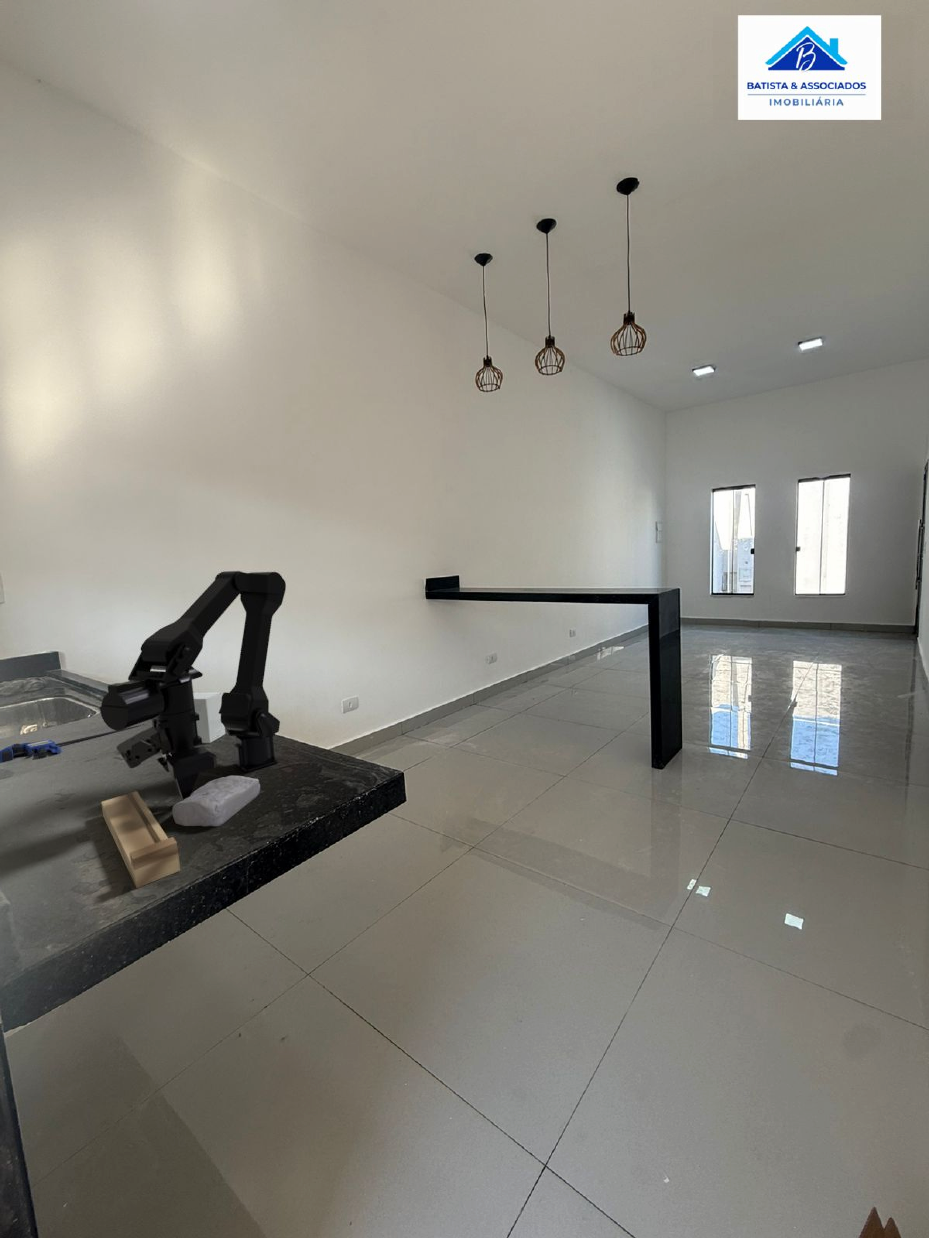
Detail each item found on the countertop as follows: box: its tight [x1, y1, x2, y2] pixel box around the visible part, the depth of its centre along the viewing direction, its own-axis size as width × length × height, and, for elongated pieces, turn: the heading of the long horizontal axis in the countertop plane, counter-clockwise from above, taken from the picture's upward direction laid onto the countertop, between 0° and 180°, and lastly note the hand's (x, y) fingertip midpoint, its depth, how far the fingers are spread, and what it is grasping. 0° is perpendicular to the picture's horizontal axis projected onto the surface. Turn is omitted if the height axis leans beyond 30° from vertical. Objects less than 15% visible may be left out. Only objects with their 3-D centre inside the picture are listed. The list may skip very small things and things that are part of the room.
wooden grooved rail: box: [100, 791, 181, 889], centre depth 75 cm, size 5×26×4 cm, turn 43°
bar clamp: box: [0, 723, 148, 763], centre depth 120 cm, size 32×2×10 cm
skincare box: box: [193, 692, 226, 744], centre depth 117 cm, size 10×6×10 cm, turn 83°
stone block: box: [171, 775, 261, 828], centre depth 84 cm, size 12×5×10 cm
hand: (185, 797), depth 86 cm, fingers closed
